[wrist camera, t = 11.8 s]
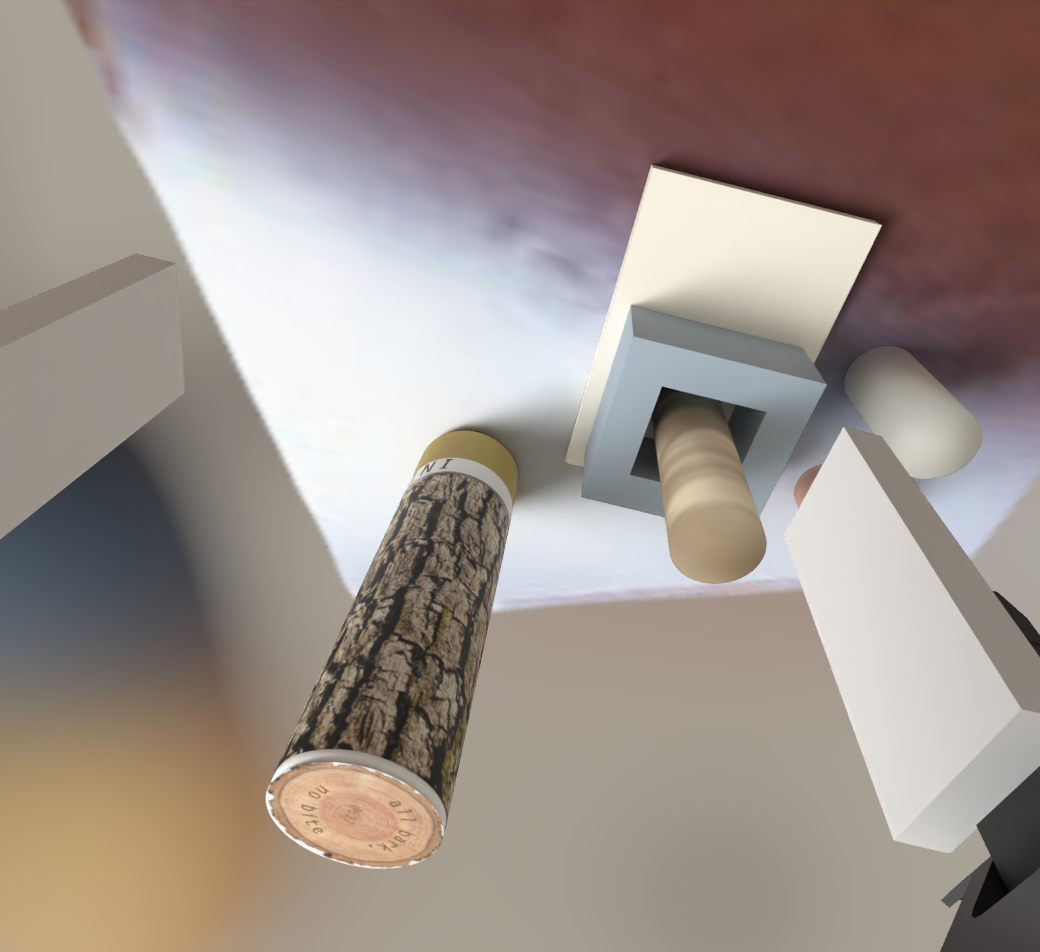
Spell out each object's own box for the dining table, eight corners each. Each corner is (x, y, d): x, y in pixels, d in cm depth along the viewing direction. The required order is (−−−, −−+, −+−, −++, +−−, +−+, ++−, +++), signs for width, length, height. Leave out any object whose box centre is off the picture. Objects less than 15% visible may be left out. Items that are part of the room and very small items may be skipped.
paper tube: (536, 453, 45) (473, 806, 24) (494, 524, 48) (406, 887, 27) (444, 408, 44) (291, 736, 23) (408, 484, 47) (246, 829, 26)
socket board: (651, 164, 35) (659, 183, 30) (873, 220, 35) (920, 249, 30) (566, 453, 44) (560, 506, 39) (741, 496, 45) (758, 554, 40)
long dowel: (662, 366, 39) (688, 499, 27) (729, 382, 39) (782, 521, 28) (642, 425, 41) (657, 571, 30) (704, 440, 41) (744, 592, 30)
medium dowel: (863, 338, 38) (918, 398, 32) (931, 354, 38) (999, 418, 32) (832, 399, 40) (876, 468, 34) (895, 415, 41) (952, 487, 34)
